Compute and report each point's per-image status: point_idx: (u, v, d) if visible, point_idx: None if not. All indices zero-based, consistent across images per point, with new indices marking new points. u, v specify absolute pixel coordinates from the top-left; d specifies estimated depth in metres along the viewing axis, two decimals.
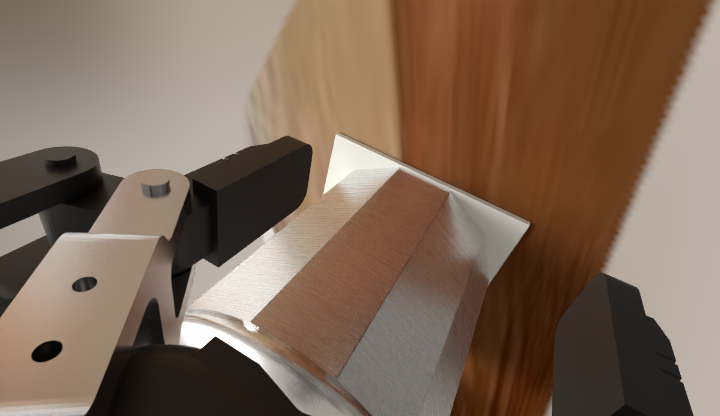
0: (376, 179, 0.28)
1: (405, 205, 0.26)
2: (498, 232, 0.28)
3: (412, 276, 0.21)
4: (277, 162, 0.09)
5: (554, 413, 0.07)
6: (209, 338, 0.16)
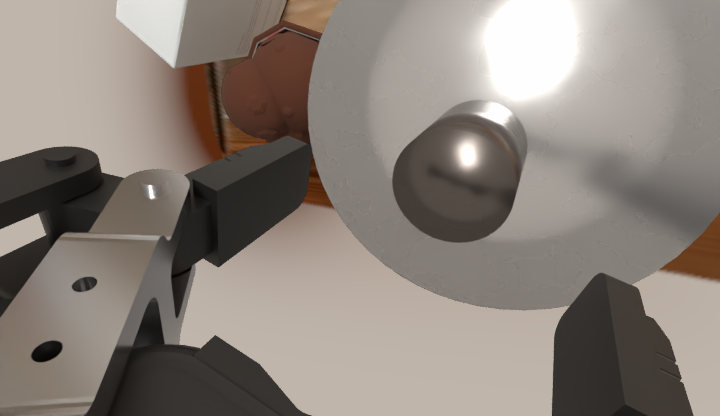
0: None
1: None
2: None
3: None
4: (277, 162, 0.09)
5: (554, 413, 0.07)
6: None
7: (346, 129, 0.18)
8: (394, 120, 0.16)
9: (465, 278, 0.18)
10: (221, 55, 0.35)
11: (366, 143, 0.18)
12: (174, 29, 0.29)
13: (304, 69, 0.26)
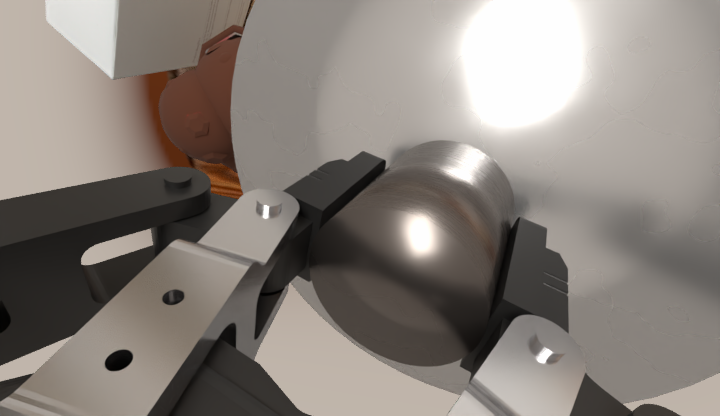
0: None
1: None
2: None
3: None
4: (362, 179, 0.09)
5: None
6: None
7: (280, 169, 0.14)
8: None
9: None
10: (174, 63, 0.30)
11: None
12: (108, 34, 0.25)
13: None
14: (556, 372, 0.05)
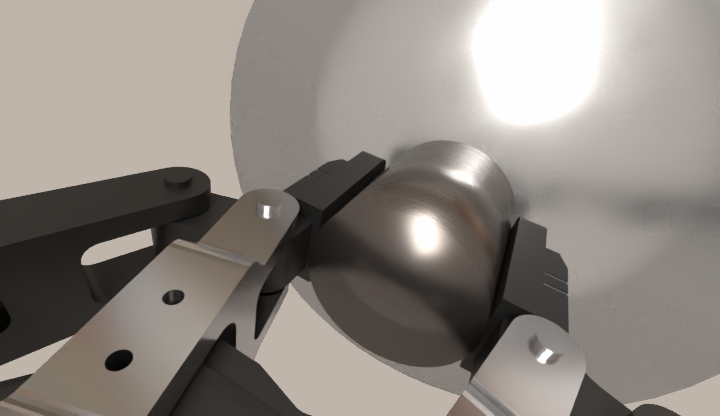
0: None
1: None
2: None
3: None
4: (363, 179, 0.09)
5: None
6: None
7: (279, 169, 0.14)
8: None
9: None
10: None
11: None
12: None
13: None
14: (556, 372, 0.05)
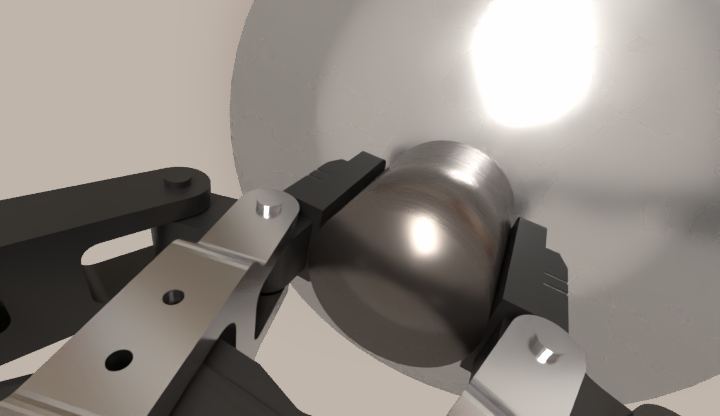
0: None
1: None
2: None
3: None
4: (363, 178, 0.09)
5: None
6: None
7: (279, 169, 0.14)
8: None
9: None
10: None
11: None
12: None
13: None
14: (556, 372, 0.05)
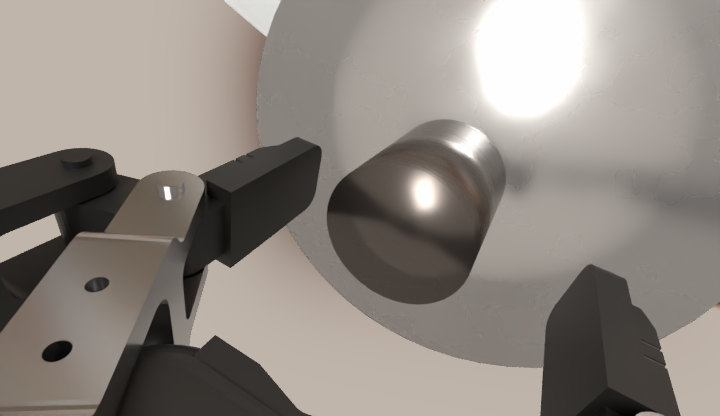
0: None
1: None
2: None
3: None
4: (288, 163, 0.09)
5: (543, 400, 0.07)
6: None
7: None
8: (351, 141, 0.14)
9: (438, 325, 0.16)
10: None
11: (322, 165, 0.15)
12: None
13: None
14: None
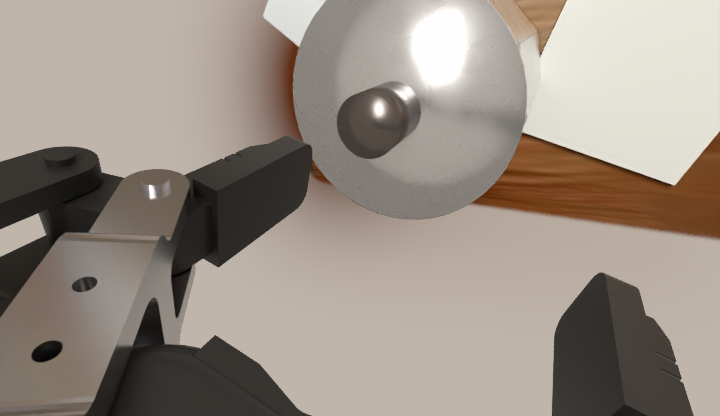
0: (539, 69, 0.35)
1: None
2: (666, 165, 0.36)
3: None
4: (277, 162, 0.09)
5: (554, 413, 0.07)
6: (515, 93, 0.21)
7: (317, 102, 0.28)
8: (346, 95, 0.26)
9: (395, 199, 0.28)
10: None
11: (330, 111, 0.28)
12: None
13: None
14: None
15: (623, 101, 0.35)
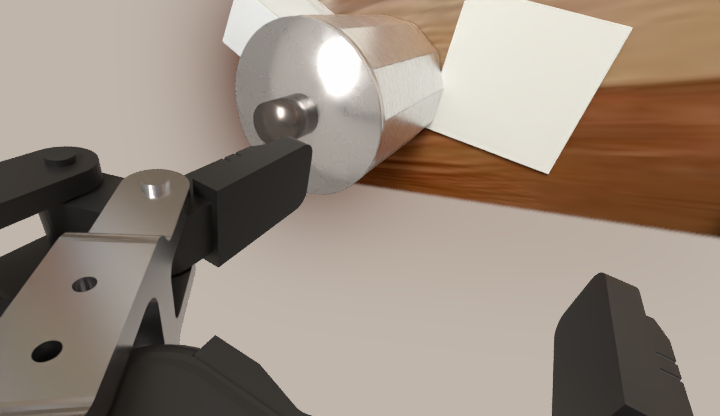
0: (436, 82, 0.44)
1: (426, 112, 0.44)
2: (540, 157, 0.45)
3: None
4: (277, 162, 0.09)
5: (554, 413, 0.07)
6: (371, 103, 0.31)
7: (252, 107, 0.38)
8: None
9: (309, 179, 0.38)
10: None
11: None
12: None
13: None
14: None
15: (503, 107, 0.44)
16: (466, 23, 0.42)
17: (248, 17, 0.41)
